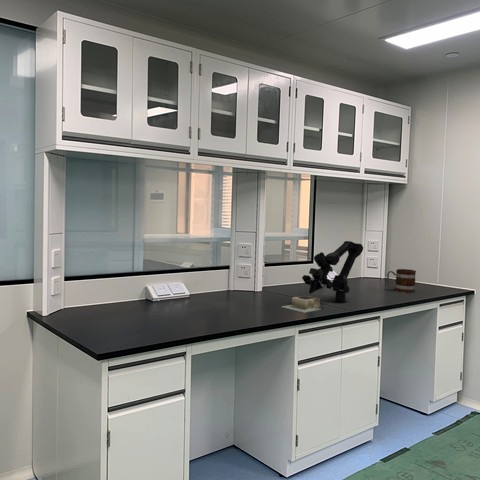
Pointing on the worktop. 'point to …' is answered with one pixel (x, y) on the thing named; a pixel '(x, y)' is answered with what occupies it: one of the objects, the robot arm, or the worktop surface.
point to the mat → (300, 309)
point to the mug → (403, 280)
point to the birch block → (305, 302)
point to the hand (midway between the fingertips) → (309, 293)
